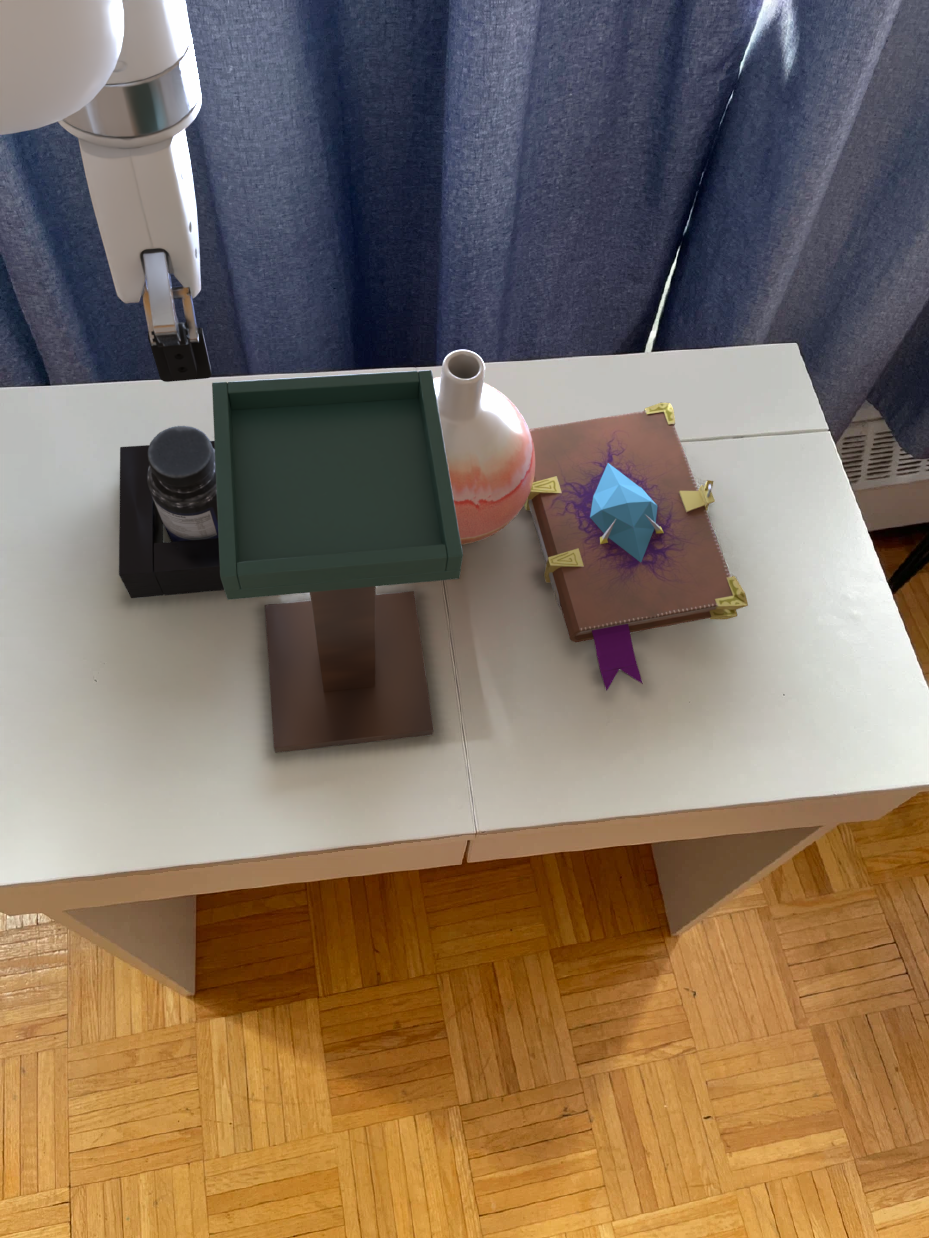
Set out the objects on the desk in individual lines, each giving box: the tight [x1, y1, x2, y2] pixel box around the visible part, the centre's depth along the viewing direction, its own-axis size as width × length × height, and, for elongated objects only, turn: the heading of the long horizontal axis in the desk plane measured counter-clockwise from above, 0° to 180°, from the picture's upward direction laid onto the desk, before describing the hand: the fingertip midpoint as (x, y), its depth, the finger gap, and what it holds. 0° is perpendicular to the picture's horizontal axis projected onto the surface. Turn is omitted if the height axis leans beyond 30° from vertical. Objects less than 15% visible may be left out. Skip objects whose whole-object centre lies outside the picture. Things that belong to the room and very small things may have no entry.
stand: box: [264, 586, 434, 754], centre depth 62 cm, size 12×12×26 cm
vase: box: [433, 349, 535, 546], centre depth 74 cm, size 14×14×18 cm
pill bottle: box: [147, 425, 219, 542], centre depth 73 cm, size 6×6×11 cm
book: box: [523, 402, 749, 692], centre depth 79 cm, size 16×25×5 cm, turn 12°
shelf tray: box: [211, 369, 464, 601], centre depth 50 cm, size 12×12×2 cm
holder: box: [118, 440, 225, 599], centre depth 77 cm, size 12×12×4 cm
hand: (181, 319), depth 62 cm, fingers open, 9 cm apart
